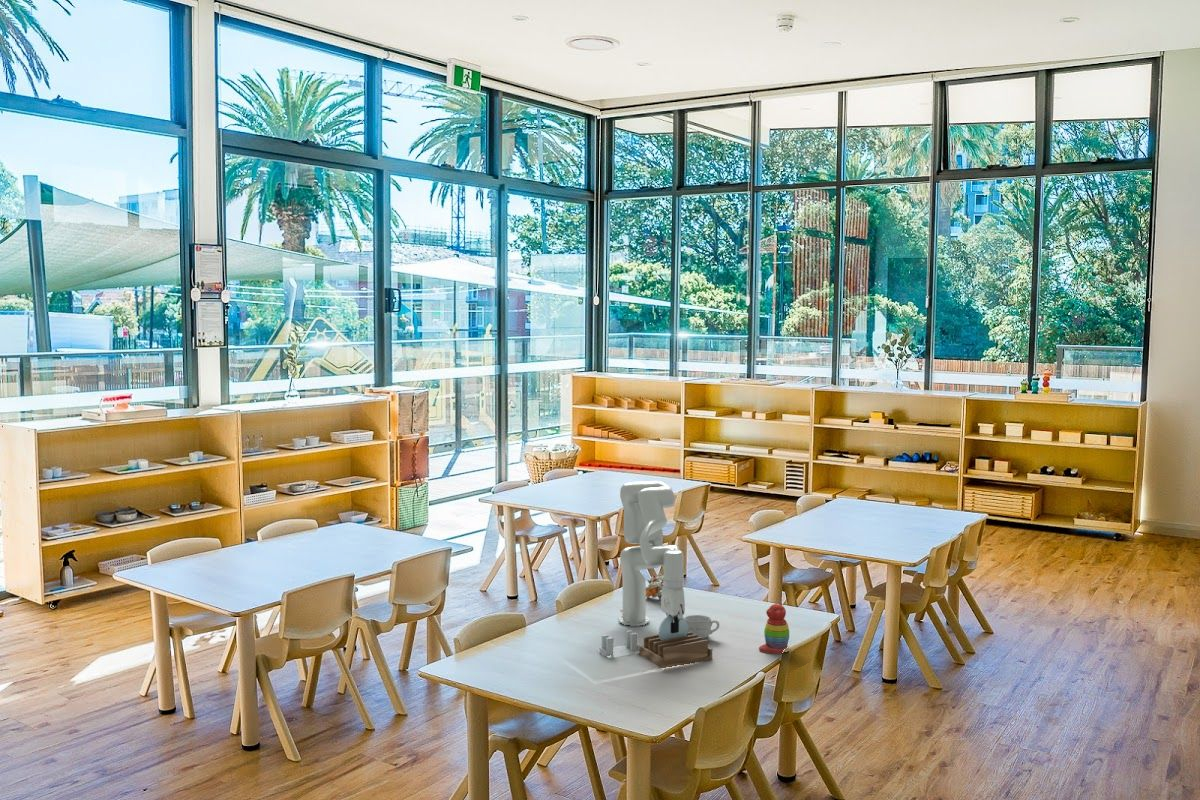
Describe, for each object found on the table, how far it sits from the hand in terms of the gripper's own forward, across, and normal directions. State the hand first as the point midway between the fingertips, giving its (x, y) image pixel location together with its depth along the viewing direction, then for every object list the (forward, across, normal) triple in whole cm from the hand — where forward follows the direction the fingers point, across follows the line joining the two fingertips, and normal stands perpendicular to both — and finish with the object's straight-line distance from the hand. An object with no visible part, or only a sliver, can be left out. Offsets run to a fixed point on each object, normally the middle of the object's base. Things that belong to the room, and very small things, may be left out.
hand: (673, 631), depth 379 cm
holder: (+10, -12, -16) cm, 22 cm away
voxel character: (+10, -62, +31) cm, 70 cm away
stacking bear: (+10, +13, +38) cm, 41 cm away
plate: (+5, 0, -3) cm, 6 cm away
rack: (+10, +2, 0) cm, 10 cm away
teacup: (+10, -12, +21) cm, 26 cm away
